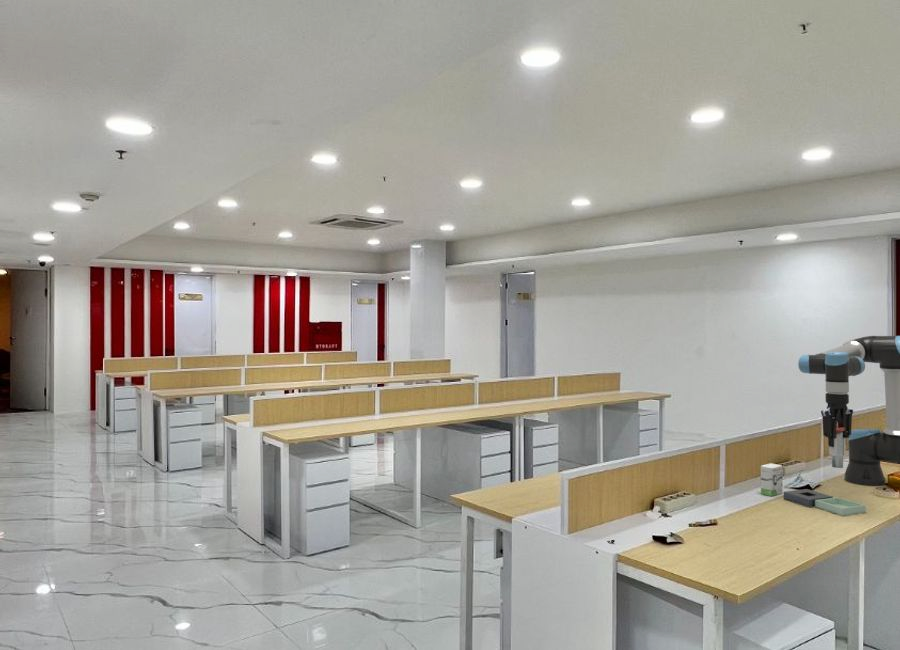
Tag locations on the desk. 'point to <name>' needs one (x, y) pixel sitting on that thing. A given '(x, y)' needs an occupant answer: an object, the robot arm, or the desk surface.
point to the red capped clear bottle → (838, 448)
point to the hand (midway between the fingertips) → (837, 454)
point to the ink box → (771, 479)
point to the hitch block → (804, 497)
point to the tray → (840, 506)
